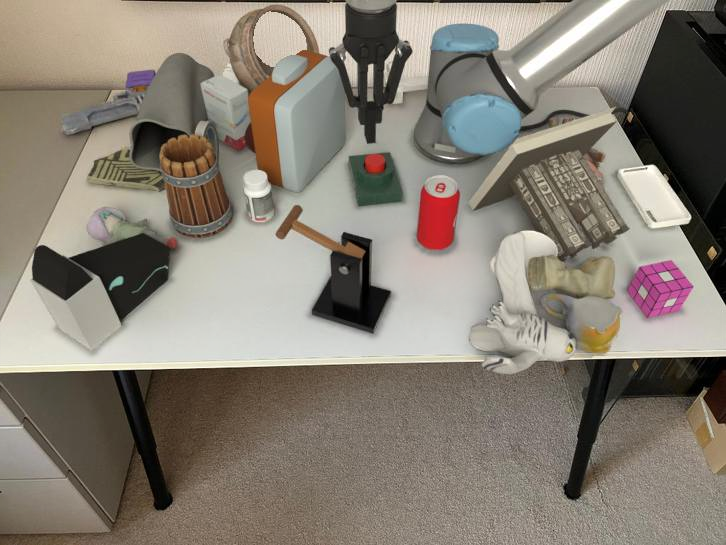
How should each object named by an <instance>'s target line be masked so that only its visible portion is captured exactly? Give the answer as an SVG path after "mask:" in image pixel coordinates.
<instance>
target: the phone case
mask: <svg viewBox="0 0 726 545" xmlns="http://www.w3.org/2000/svg"><path fill="white" fill-rule="evenodd" d="M629 170H630V171H629ZM616 177H617V179H618V181H619V183H620V184H621V185H622V188H623V189H624V190H625V192H626V193H627V196H628V197H629V199H630V200H631V201H632V203H633V205H634V206H635V208H636V209H637V211H638V213H639V214H640V216H641V217H642V219H643V220H644V222H645V223H646V226H648V227H649V228H650V229H652V230H654V229H660V228H668V227H674V226H681V225H682V226H683V225H687V224H690V222H691V219H692V215H691V213H690V212H689V211H688V209H687V208H686V206H685V205H684V203H683V202H682V200H681V199H680V198H679V196H678V195H677V193H676V192H675V191H674V189H673V187H672V186H671V185H670V184H669V182H668V181H667V179H666V178H665V176H664V175H663V174H662V172H661V171H660V169H659V168H658V167H657V166H656V165H654V164H646V165H639V166H632V167H625V168H619V169H618V170H617V173H616ZM647 212H650V213H651V215H652V217H653V218H654V220H655V221H654V220H652V218H651V217H650V215H649V214H648V213H647Z"/></svg>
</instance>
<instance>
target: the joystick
mask: <svg viewBox="0 0 726 545" xmlns="http://www.w3.org/2000/svg"><path fill="white" fill-rule="evenodd" d="M392 62H393V60H392V61H389V62H385V70H386V71H384V86H385V87H386V83H387V80H388V76H389V73H390V69H391V66H392ZM427 86H428V75H420V76H419V75H418V76H415V75H414V76H401V79H400V83H399V86H398V89H397V92H396V96H395V99H394V102H393V103H392V104H391V105H397V104H400V105H401V104H403V101H404V93H407V92H415V91H423V90H427Z"/></svg>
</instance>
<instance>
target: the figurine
mask: <svg viewBox="0 0 726 545" xmlns="http://www.w3.org/2000/svg"><path fill="white" fill-rule="evenodd" d="M574 120H575V116H564V117H563V118H562V121H561V122H562V123H561V124H564V123H568V122H571V121H574ZM547 124H548V129H549V128H552V127H555V126H558V125H560V117H552V118H551V119H549V121H548V122H547ZM583 157H584V159H585V160H586V162H587V163H588V165H589V167H590V168H591V170H592V171H593V173H594V174H595V176H596V178H597V179H598V181H599V182H600V184H601V186H602V187H603V189H604V190H605V180H604V177H603V175H604V174H603V171H601V170H598V169H599V168H600V164H602V163H603V162H604V161H605V159H606V153H604V152H603V151H600V150H597V149H595V148H593V147H592V148H591V149H590V150H589V151H588V152H587V153H586V154H585V155H584V156H583ZM605 191H606V190H605Z"/></svg>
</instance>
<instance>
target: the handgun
mask: <svg viewBox="0 0 726 545" xmlns="http://www.w3.org/2000/svg"><path fill="white" fill-rule="evenodd" d="M156 73H157V72H156V70H155V69H145V70H135V71H128V73H127V74H126V82H125V92H120V93H115V94H114V95H112V99H113V101H110V102H109V101H108V100H106V101H103V102H101V104H98V105H91V106H87V107H83V108H81V109H78V110H75V111H72V112H69V113H66V114H62V115H61V123H60V125H61V126H60V130H61V133H62V134H64V135H65V136H69V135H74V134H78V133H80V132H85V131H88V130H92V127H94V126H98V125H99V126H100V125H102V124H106V123H110V122H113V121H117V120H121V119H125V118H130V117H132V116H136V115H138V112H139V109H140V106H141V103H142V101H143V98H144V96H145V94H146V91H147V89H148V87H149V85H150V83H151V81H152V79H153V78H154V76H155V74H156Z"/></svg>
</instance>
